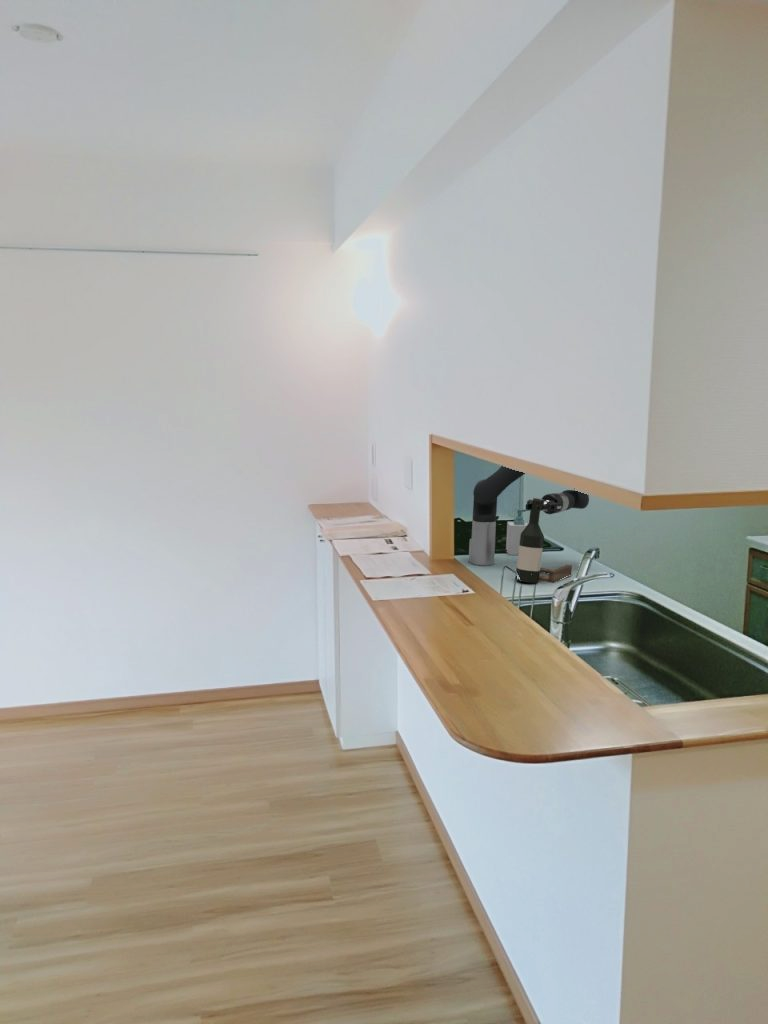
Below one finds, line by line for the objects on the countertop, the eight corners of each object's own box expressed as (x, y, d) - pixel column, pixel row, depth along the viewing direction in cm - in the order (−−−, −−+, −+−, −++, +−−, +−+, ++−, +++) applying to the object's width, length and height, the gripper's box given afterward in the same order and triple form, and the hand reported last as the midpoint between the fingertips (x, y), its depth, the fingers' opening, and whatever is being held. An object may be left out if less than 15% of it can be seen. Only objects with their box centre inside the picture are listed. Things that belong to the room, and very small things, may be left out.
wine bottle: (538, 580, 291) (548, 499, 288) (538, 583, 282) (548, 500, 280) (515, 577, 292) (525, 496, 290) (515, 580, 284) (524, 497, 281)
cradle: (517, 575, 296) (517, 565, 295) (535, 569, 307) (536, 559, 306) (553, 582, 287) (554, 572, 286) (571, 575, 297) (571, 565, 297)
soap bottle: (529, 555, 330) (532, 510, 327) (508, 555, 330) (510, 510, 327) (526, 551, 338) (528, 507, 335) (505, 550, 338) (508, 506, 335)
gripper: (538, 491, 300) (515, 495, 287) (572, 495, 291) (550, 499, 278) (537, 510, 301) (513, 515, 288) (571, 515, 292) (548, 520, 279)
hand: (531, 507), depth 283 cm, fingers closed on wine bottle, 3 cm apart
